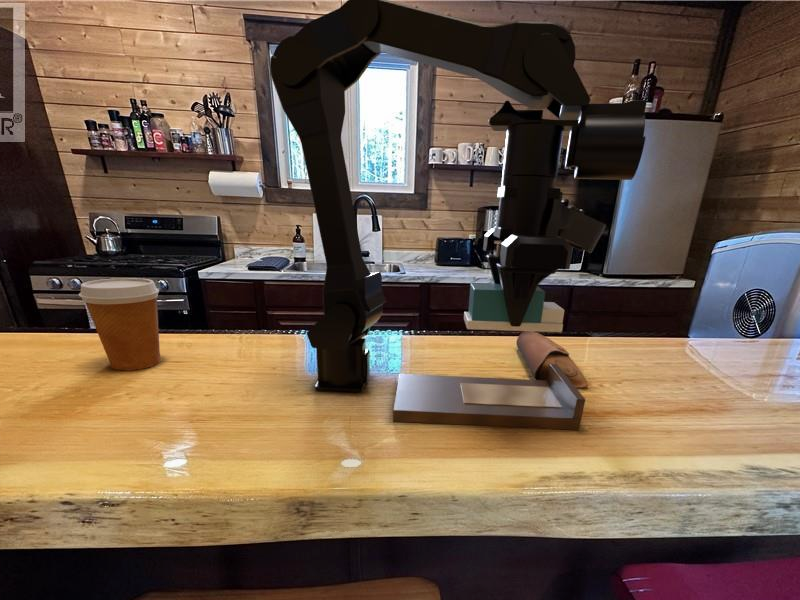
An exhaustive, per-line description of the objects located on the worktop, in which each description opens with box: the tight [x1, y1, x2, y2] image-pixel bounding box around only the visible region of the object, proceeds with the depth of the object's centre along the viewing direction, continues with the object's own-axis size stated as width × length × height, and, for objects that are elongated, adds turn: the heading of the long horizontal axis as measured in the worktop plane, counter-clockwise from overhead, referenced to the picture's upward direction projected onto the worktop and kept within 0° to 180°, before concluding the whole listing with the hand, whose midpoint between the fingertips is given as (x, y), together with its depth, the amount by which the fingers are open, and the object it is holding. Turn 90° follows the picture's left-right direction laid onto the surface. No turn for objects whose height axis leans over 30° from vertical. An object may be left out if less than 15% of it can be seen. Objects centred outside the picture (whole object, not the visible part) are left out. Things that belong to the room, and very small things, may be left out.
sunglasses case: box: [515, 331, 589, 389], centre depth 71 cm, size 18×7×7 cm
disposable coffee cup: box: [78, 277, 161, 371], centre depth 63 cm, size 10×10×12 cm
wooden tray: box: [392, 364, 586, 431], centre depth 56 cm, size 22×12×4 cm, turn 89°
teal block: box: [463, 282, 565, 333], centre depth 51 cm, size 11×5×5 cm, turn 89°
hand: (511, 320), depth 52 cm, fingers closed on teal block, 5 cm apart
